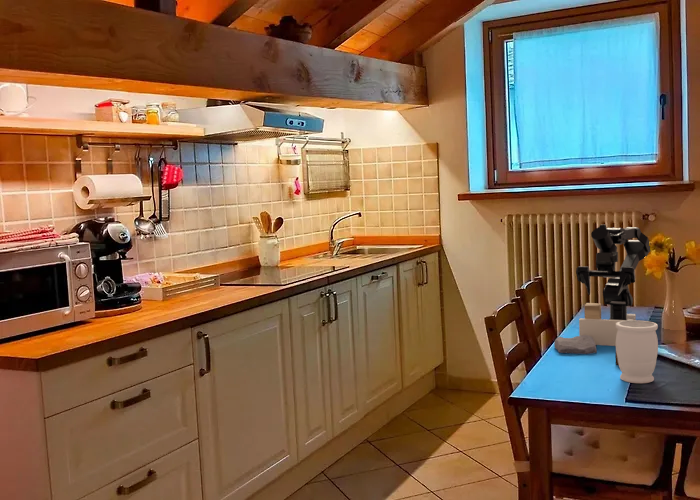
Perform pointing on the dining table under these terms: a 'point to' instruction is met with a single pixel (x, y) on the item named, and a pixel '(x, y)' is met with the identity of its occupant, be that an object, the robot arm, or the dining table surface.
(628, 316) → the hinge post
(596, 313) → the block
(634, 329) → the jar
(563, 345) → the stone block
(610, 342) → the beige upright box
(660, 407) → the dining table surface
